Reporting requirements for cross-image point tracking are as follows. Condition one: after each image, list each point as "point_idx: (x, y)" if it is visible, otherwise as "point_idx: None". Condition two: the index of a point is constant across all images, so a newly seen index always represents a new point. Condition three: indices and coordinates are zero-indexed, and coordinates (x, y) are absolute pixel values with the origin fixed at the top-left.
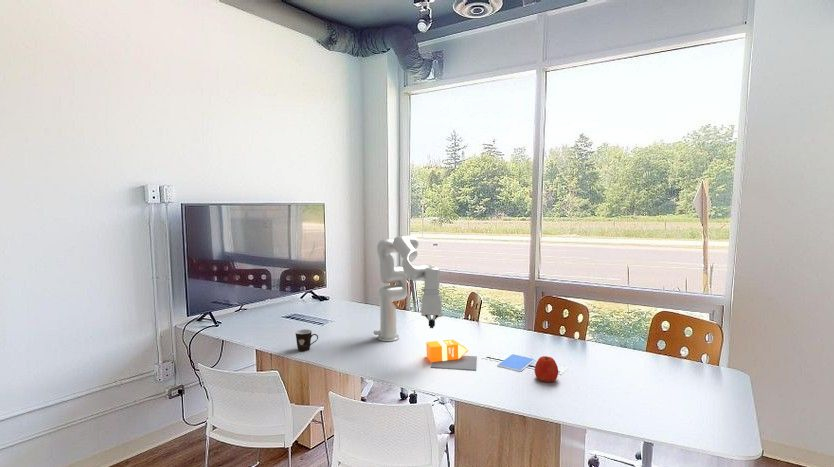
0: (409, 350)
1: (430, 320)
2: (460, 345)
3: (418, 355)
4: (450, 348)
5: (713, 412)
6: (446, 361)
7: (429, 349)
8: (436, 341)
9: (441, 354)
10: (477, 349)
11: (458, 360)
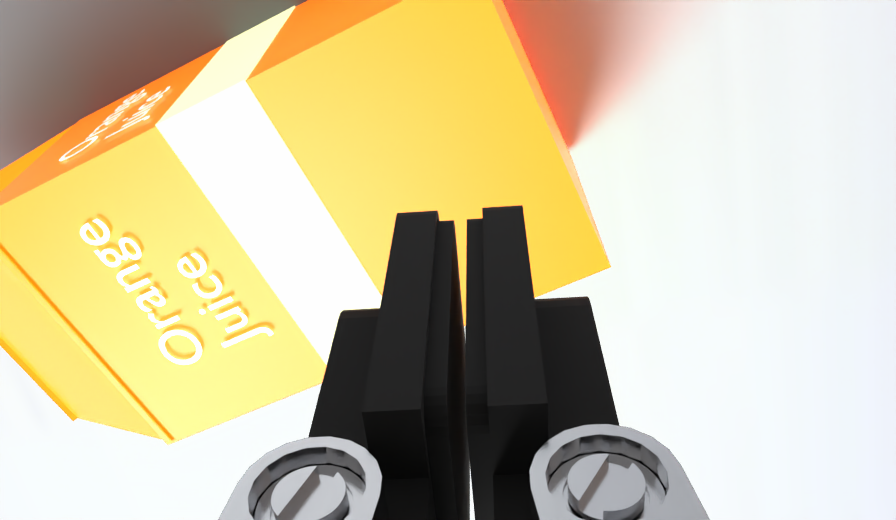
0: (839, 322)
1: (515, 430)
2: (9, 303)
3: (698, 177)
4: (116, 133)
5: None
6: (229, 5)
7: (506, 26)
8: None
9: (287, 30)
10: (19, 494)
11: (75, 90)
